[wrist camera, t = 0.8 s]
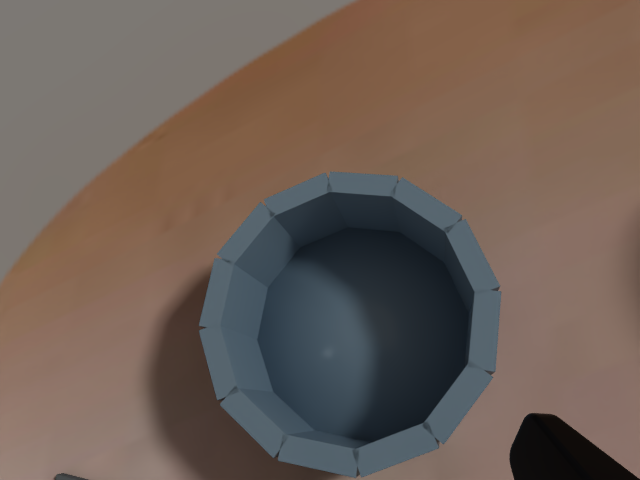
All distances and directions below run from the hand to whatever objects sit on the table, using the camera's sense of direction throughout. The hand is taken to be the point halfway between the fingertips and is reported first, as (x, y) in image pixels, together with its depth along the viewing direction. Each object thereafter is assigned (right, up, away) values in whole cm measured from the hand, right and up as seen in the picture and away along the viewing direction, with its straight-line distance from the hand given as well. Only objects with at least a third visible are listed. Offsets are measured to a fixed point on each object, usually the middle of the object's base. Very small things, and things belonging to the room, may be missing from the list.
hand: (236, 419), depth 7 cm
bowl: (+3, -1, +14) cm, 14 cm away
